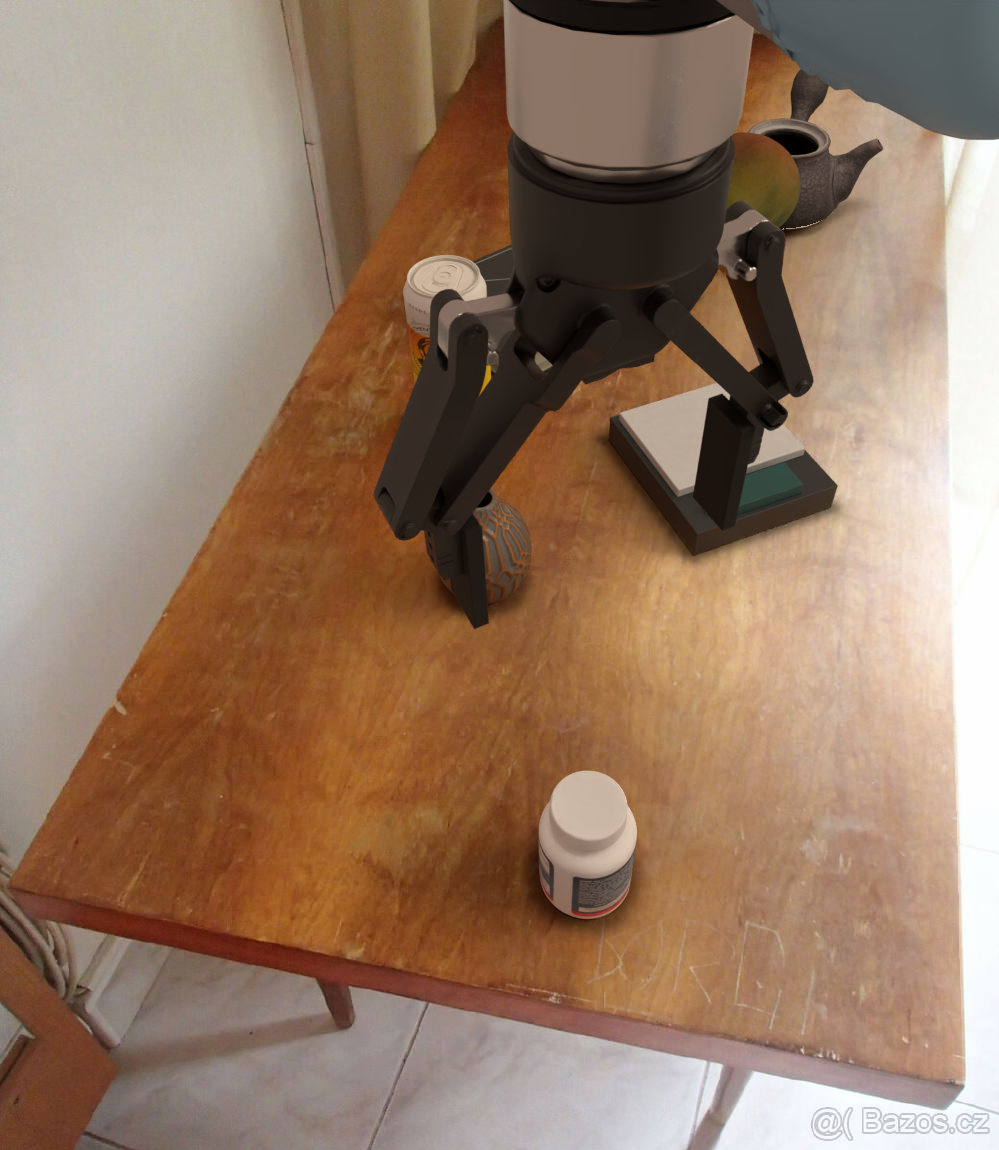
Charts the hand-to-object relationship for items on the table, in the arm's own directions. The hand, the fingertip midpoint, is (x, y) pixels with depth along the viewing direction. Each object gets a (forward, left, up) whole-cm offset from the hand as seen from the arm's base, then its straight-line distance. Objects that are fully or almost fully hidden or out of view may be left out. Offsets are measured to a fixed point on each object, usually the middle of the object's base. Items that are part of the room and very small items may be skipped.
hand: (595, 557), depth 49 cm
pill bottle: (-7, +4, -19) cm, 21 cm away
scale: (+19, -20, -19) cm, 33 cm away
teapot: (+52, -49, -19) cm, 74 cm away
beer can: (+32, -3, -19) cm, 37 cm away
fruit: (+46, -38, -19) cm, 63 cm away
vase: (+16, +1, -19) cm, 24 cm away
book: (+45, -18, -19) cm, 52 cm away
